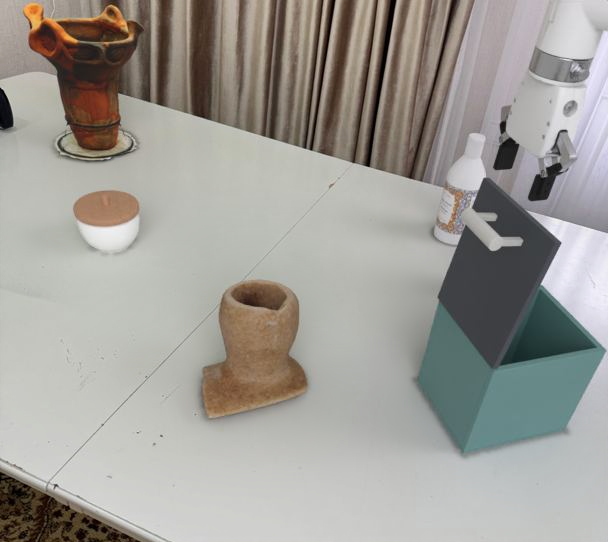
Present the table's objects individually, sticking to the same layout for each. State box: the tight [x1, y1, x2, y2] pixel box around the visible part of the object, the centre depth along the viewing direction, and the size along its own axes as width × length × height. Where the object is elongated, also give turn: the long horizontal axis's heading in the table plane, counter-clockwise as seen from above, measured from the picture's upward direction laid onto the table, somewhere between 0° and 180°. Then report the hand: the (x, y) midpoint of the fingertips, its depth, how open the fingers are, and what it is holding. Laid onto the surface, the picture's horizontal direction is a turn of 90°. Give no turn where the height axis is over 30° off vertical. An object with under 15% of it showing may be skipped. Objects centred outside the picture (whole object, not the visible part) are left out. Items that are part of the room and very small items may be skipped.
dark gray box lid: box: [436, 177, 563, 369], centre depth 68 cm, size 16×14×5 cm
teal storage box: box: [417, 284, 607, 454], centre depth 82 cm, size 16×14×15 cm
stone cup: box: [201, 279, 309, 419], centre depth 81 cm, size 15×12×15 cm
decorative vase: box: [22, 2, 145, 161], centre depth 130 cm, size 21×23×28 cm
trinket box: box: [72, 189, 141, 254], centre depth 107 cm, size 11×11×9 cm
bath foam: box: [433, 132, 487, 246], centre depth 113 cm, size 7×7×20 cm
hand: (519, 183), depth 94 cm, fingers open, 9 cm apart
